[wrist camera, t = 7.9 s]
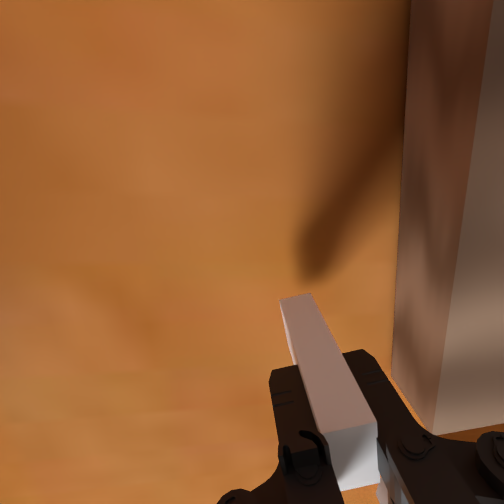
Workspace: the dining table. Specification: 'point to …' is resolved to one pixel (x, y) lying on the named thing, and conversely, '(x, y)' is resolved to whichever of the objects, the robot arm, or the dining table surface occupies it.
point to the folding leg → (452, 218)
